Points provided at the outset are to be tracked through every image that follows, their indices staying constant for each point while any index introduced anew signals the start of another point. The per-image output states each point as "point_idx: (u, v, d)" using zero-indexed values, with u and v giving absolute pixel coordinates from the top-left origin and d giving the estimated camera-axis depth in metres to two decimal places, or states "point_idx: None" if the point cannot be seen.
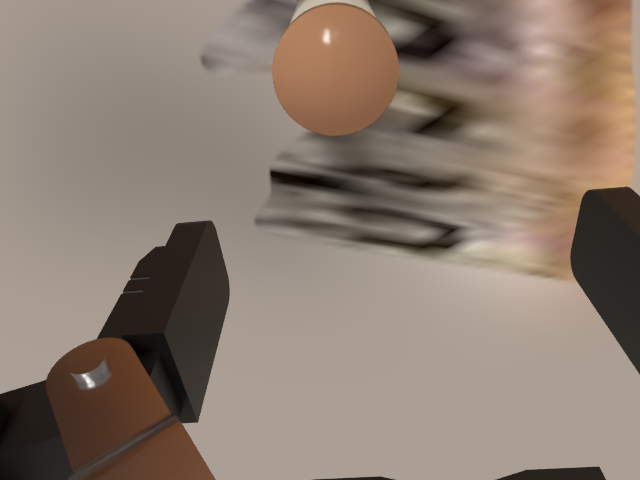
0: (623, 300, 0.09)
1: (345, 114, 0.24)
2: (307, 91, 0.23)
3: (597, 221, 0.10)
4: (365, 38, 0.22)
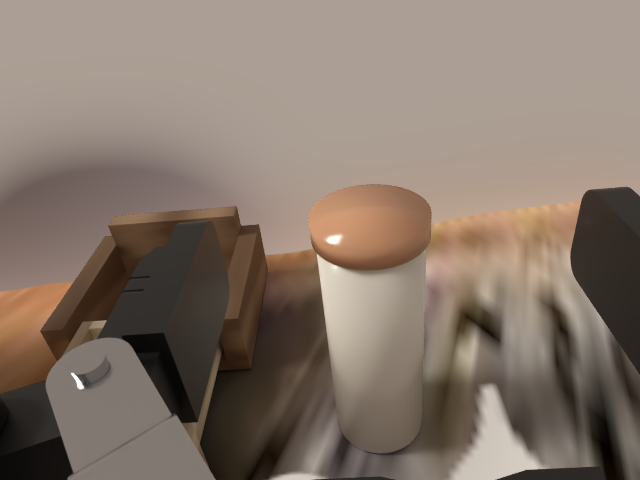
0: (623, 300, 0.09)
1: (407, 206, 0.24)
2: (384, 227, 0.22)
3: (597, 221, 0.10)
4: (337, 200, 0.25)
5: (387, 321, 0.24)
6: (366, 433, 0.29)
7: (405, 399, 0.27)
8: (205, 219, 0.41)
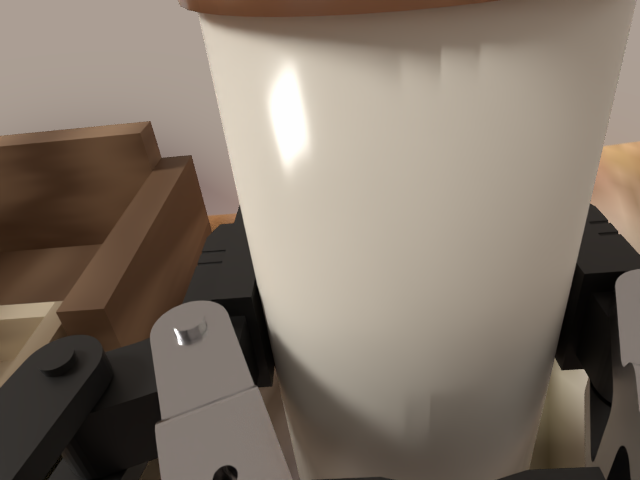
0: None
1: None
2: None
3: None
4: None
5: (475, 298, 0.06)
6: None
7: None
8: (92, 140, 0.24)
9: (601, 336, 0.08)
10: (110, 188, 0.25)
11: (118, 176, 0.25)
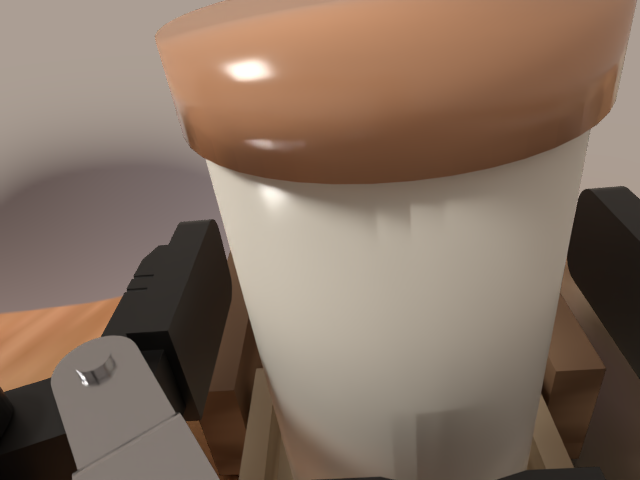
0: (619, 299, 0.09)
1: None
2: (445, 7, 0.05)
3: (593, 220, 0.10)
4: None
5: (452, 389, 0.07)
6: None
7: None
8: None
9: None
10: None
11: None
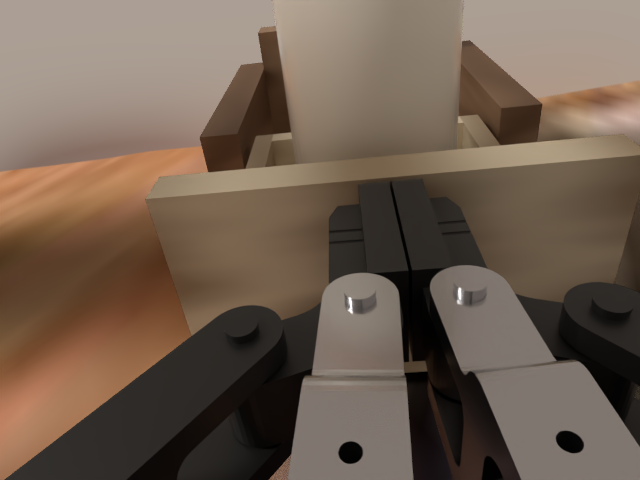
0: None
1: None
2: None
3: None
4: None
5: None
6: None
7: (426, 141, 0.14)
8: None
9: (427, 328, 0.08)
10: None
11: None
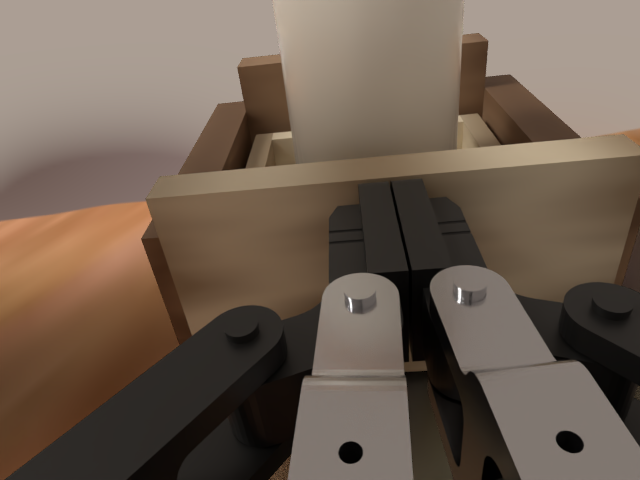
0: None
1: None
2: None
3: None
4: None
5: None
6: None
7: (426, 140, 0.14)
8: None
9: (427, 329, 0.08)
10: None
11: None
